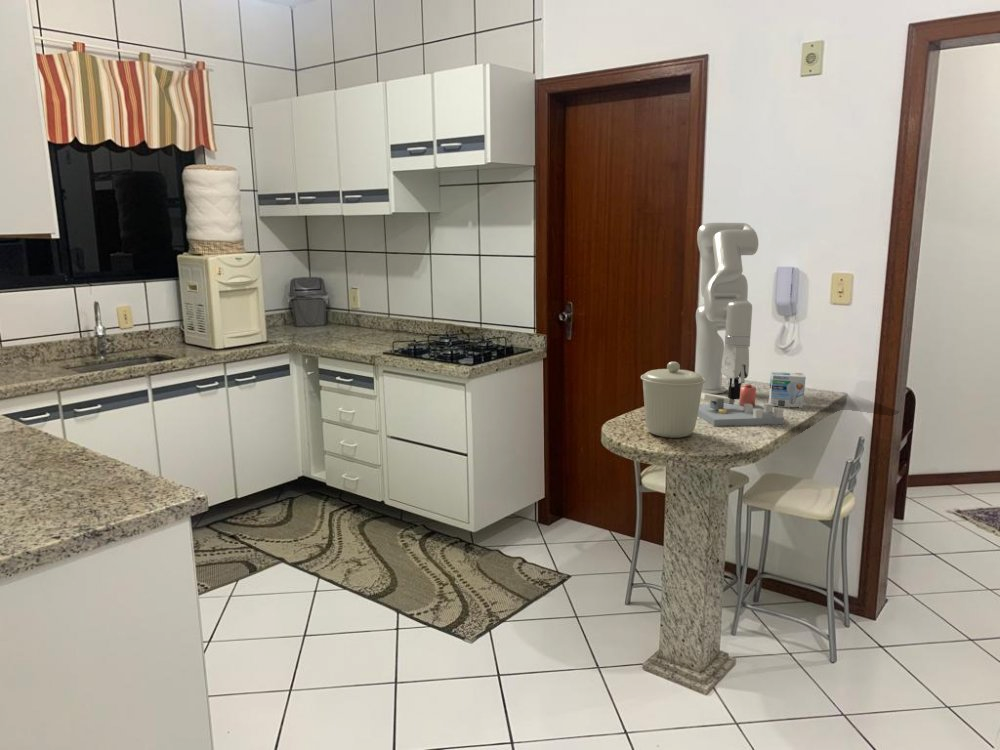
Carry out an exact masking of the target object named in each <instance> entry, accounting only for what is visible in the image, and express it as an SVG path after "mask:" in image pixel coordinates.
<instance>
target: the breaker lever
mask: <svg viewBox="0 0 1000 750" xmlns="http://www.w3.org/2000/svg"><path fill="white" fill-rule="evenodd" d="M717 398H723V399H724V404H732V405H733V404H735V400H736V399H730V398H728V396H724V395H718V394H708V393H701V398H700V399H702V400H706V401H709V402H710V401H715V402H717Z"/></svg>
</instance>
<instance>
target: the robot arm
mask: <svg viewBox="0 0 1000 750" xmlns="http://www.w3.org/2000/svg"><path fill="white" fill-rule="evenodd" d="M696 235H697V236H696V237H697V238H696V241H697V247H698V251H699V254H700V257H701V279H700V291H701V295H702V297H703V301H704V302H703V303H704V304H702V305H699V306H698V307H697V308H696V311H695V322H696V323H695V324H696V349H695V350H696V355H695V369H694V372H695V373H698V374H700V375H701V376H702V377H704V378H705V379H706V381H705V382H704V383H703V387H702V393H708V394H713V395H718V394H723V393H725V392H726V391H727V388H726V387H725V386H723V384H722V383H723V376H725V378H726V379H727V381H728V382H727V385H728V392H727V393H728V394H727V397H728V398H730V399H734V400H740V387H741V386H743V384H745V383H746V381H745V380H746V379H747V378H748V377H749V373H750V372H749V371H750V370H749V369H750V349H749V347H750V346H751V331H752V318H753V317H752V316H753V304H752V303H751V302H750V301H749V300H748V294H749V293H748V292H749V291H748V290H749V286H748V285H749V284H748V279H747V278H746V276H745V275H744V274H743V269H744V268H743V262H742V261H743V260H742V256H754V255H755V254H756V253H757V252H758V249H759V237H758V233H757V232H756V231H755V229H754V228H753V227H752V226H751V225H750V224H748V223H746V222H708V223H703V224H702V225H700V226H699V228H698V230H697V234H696ZM720 331H725V335H724V340H723V338H722V337H721V336H720V335H719V333H718V332H720Z"/></svg>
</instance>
